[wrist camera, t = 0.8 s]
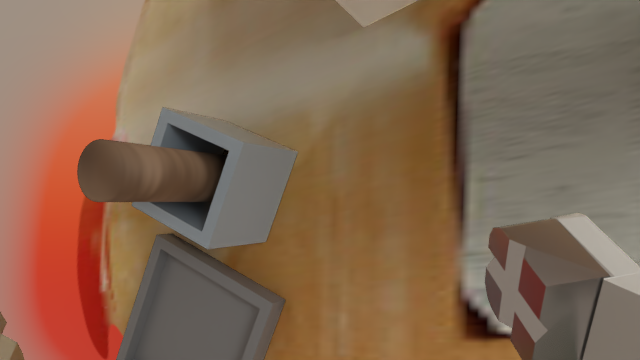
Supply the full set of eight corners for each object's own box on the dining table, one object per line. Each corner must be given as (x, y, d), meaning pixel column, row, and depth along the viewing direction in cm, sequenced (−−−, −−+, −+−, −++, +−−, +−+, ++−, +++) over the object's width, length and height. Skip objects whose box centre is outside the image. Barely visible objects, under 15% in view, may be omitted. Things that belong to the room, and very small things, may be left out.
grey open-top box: (224, 120, 49) (162, 106, 42) (297, 151, 45) (243, 142, 38) (196, 204, 50) (131, 205, 43) (265, 241, 47) (207, 249, 39)
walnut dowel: (235, 151, 48) (87, 130, 34) (269, 166, 47) (128, 151, 32) (221, 191, 49) (70, 188, 35) (254, 208, 47) (110, 211, 33)
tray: (171, 233, 52) (156, 234, 50) (285, 299, 45) (273, 303, 44) (130, 360, 53) (114, 365, 52) (234, 440, 47) (220, 449, 46)
